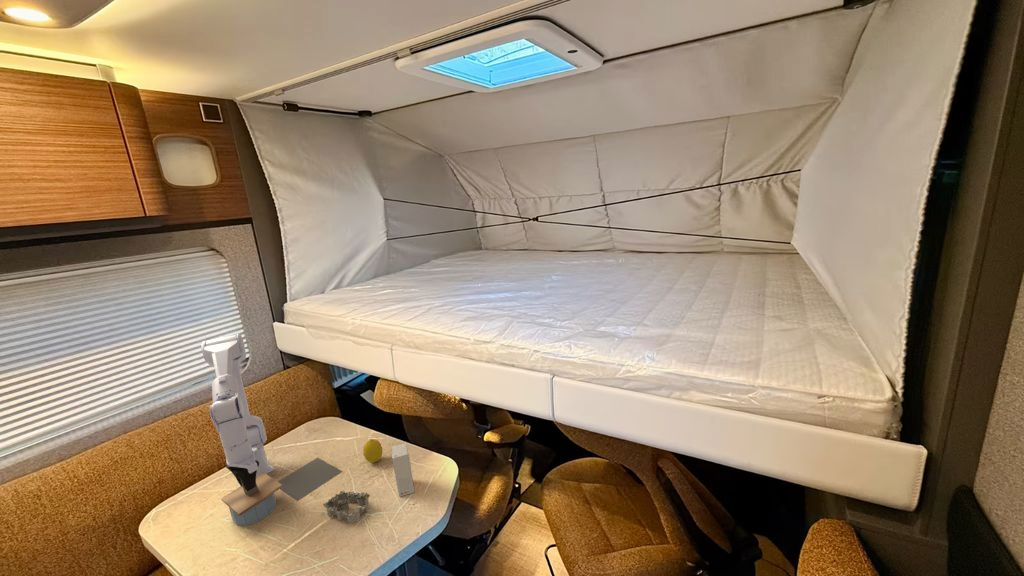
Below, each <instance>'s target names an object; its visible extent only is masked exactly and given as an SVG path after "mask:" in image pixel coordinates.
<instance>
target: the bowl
mask: <svg viewBox="0 0 1024 576" xmlns="http://www.w3.org/2000/svg"><path fill="white" fill-rule="evenodd" d="M276 505H277V498H276V492H274V493H273V494H271V495H270V496H268V497H267V498H265V499H264V500H263V501H261V502H260V503H258V504H257V505H255V506H254V507H252V508H251V509H249V510H248V511H246V512H245V513H243V514H242V515H240V516H239V515H238V514H237V513H236V512H234V511H233V510H232V509H231V508H230V507H229V506H228V509H229V510H228V511H229V513H230V516H231V519H232V522H233V523H234V524H235V525H236V526H249V525H251V524H255V523H257V522H259V521H262V520H264V518H266V517H267V516H269V515H270V514H271V513H272V512H273V511H274V510H275V508H276V507H277V506H276Z"/></svg>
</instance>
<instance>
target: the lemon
mask: <svg viewBox="0 0 1024 576" xmlns="http://www.w3.org/2000/svg"><path fill="white" fill-rule="evenodd" d="M383 451H384V450H383V446H382V444H381V442H380V441H379V440H377V439H375V438H373V439H369V440H367V441H366V443H365V444H364V446H363V456H364V459H365V460H366V461H367V462H369V463H371V464H372V463H373V464H375V463H378V461H380V460H381V458H382V456H383Z"/></svg>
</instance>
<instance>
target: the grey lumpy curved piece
mask: <svg viewBox="0 0 1024 576" xmlns="http://www.w3.org/2000/svg"><path fill="white" fill-rule="evenodd" d="M370 496H371V494H369V493H367V492H361V493H360V492H354V491H346V492H345V491H344V490H340V491H339V493H335V495H334V496H333V497H331V498H330V499H328V500H327V502H324V503H323V504H322V506H323V507H324V508H325V509H326V512H327V516H328V518H333V517H334V516H337V520H338V521H342V520H345V519H347V523H348V524H352V523H354V522H358V521H360V520H361V514H362V513H365V512H369V510H370V503H369V498H370ZM354 503H358V508H353V509H351V510H350V511H349V513H348V510H349V507H350V506H349V504H354Z"/></svg>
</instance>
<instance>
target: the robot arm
mask: <svg viewBox="0 0 1024 576" xmlns="http://www.w3.org/2000/svg"><path fill="white" fill-rule="evenodd" d="M200 348H201V353H202V356H203V359H204V361H205V362H206V363H207V364H208V365H209V366H210V367H211V368H214V371H215V376H216V378H215V379H214V380H213V381H212V382H211V394H212V396H211V397H212V404H210V405H209V414H210V419H211V421H212V423H213V425H214V427H215V430H216V432H217V433H218V434H219V439H220V441H221V445H222V448H223V452H224V455H225V462H226V465H225V468H226V469H228V470H229V471H230V472H231V473H232V475H233V476H234V477H235V479H236V481H237V483H238V484H239V485H240V486H241V487H242V484H243V486H244V488H245V489H246V490H247V491H249V490H251V489H253V488H254V487H256V476H258V475H259V474H261V473H263V472H264V473H265V474H267V475H268V474H269V473H272V472H273V471H274V470H275V469H276V468H275V467H274V466H273V465H271V464H269V462H268V458H267V454H266V449H265V445H264V444H265V443H266V442H267V440H268V439H267V432H266V428H265V424H264V423H263V419H262V418H261V417H259V416H257V415H253V414H251V413H250V409H249V405H248V400H247V395H246V391H245V387H244V382H243V378H242V373H241V363H242V362H243V361H245V360H246V359H247V353H246V348H245V342H244V339H243V336H242V334H240V333H236V334H234V335H228V336H223V337H220V338H219V337H218V338H214V339H211V340H203V341H202V342H201V347H200ZM240 481H241V482H242V484H241V482H240Z"/></svg>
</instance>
